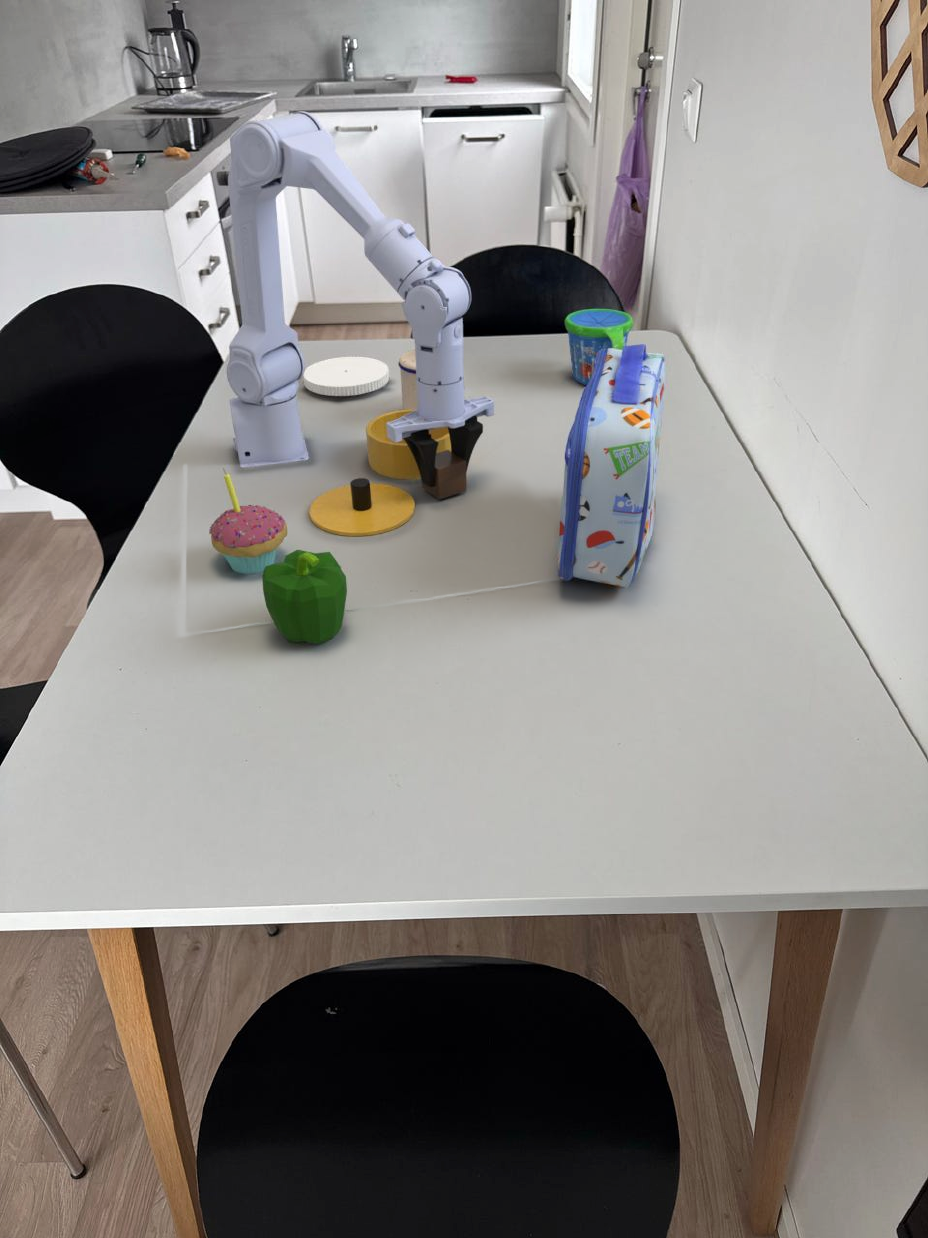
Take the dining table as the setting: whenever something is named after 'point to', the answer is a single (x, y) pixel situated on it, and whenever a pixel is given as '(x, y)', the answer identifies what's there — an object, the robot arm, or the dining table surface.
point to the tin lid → (362, 509)
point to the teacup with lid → (408, 380)
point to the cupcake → (247, 534)
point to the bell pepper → (306, 596)
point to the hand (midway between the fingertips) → (443, 479)
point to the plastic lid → (346, 376)
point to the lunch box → (612, 468)
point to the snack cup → (594, 337)
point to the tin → (397, 448)
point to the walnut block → (448, 475)
